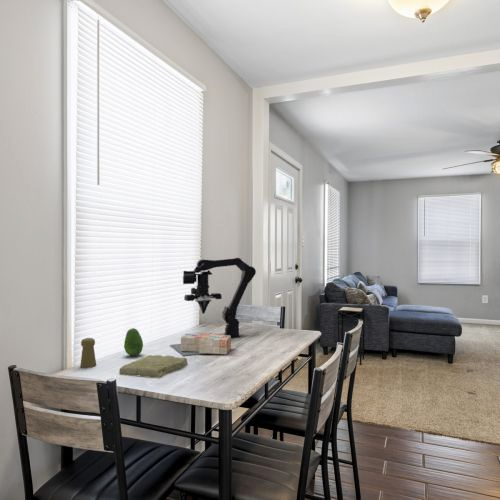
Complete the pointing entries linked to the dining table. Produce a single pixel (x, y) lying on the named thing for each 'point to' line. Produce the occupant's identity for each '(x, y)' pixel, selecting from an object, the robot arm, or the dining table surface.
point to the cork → (88, 353)
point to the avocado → (133, 342)
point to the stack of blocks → (206, 343)
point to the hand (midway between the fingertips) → (203, 313)
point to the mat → (184, 353)
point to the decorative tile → (153, 366)
